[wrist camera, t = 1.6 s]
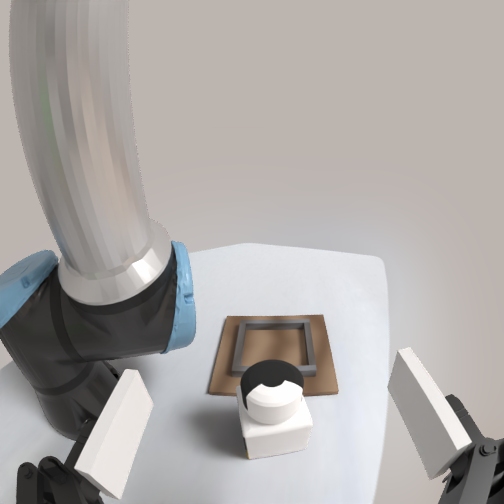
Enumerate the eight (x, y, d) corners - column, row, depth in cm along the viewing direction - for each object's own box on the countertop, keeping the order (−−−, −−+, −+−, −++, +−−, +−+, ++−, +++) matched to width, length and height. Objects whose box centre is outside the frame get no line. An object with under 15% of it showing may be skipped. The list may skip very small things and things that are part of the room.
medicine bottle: (240, 415, 31) (230, 356, 26) (293, 406, 32) (299, 345, 27) (247, 460, 24) (237, 413, 20) (307, 449, 25) (320, 398, 20)
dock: (209, 394, 34) (207, 385, 33) (227, 319, 51) (226, 309, 50) (337, 393, 33) (340, 384, 32) (322, 317, 49) (323, 308, 48)
